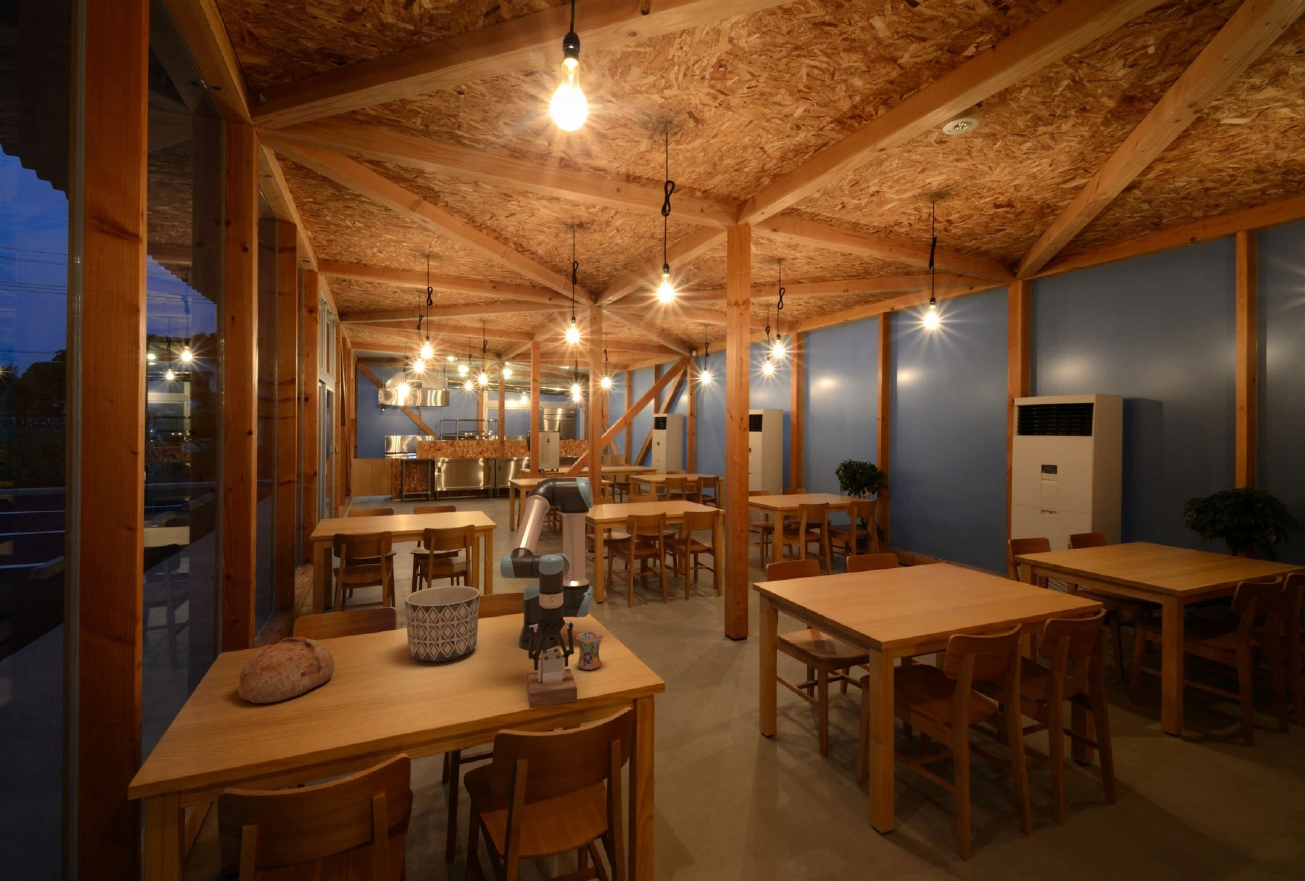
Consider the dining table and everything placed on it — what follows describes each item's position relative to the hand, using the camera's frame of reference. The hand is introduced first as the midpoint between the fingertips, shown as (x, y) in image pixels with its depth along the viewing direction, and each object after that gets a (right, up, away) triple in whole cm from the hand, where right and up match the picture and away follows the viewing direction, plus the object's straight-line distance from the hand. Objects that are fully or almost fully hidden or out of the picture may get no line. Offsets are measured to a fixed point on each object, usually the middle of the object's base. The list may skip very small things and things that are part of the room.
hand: (551, 678), depth 174 cm
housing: (0, -1, 0) cm, 1 cm away
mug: (+9, -5, +22) cm, 24 cm away
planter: (-46, -5, +32) cm, 56 cm away
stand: (0, -5, 0) cm, 5 cm away
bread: (-86, -5, +4) cm, 86 cm away
